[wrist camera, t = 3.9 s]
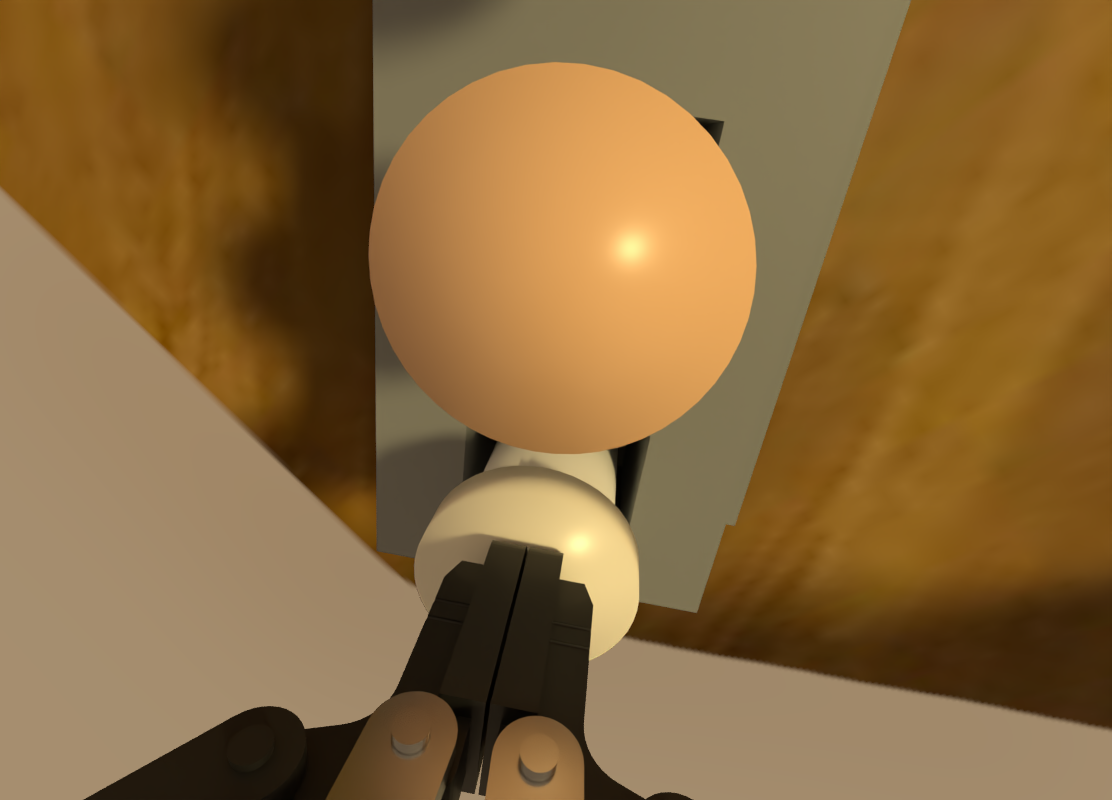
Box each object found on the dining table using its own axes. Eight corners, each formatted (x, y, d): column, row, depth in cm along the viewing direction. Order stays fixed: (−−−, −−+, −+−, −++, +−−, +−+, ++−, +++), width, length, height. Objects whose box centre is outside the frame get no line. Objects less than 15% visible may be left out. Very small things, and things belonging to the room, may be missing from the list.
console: (980, -255, 13) (1300, -620, 7) (730, 510, 23) (767, 653, 16) (398, -314, 14) (203, -689, 8) (393, 448, 23) (304, 562, 17)
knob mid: (714, 120, 13) (813, 96, 6) (669, 318, 15) (700, 482, 8) (511, 90, 13) (365, 33, 6) (494, 289, 15) (370, 422, 8)
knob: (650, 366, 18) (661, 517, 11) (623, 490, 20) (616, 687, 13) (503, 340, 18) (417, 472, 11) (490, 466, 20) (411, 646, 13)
